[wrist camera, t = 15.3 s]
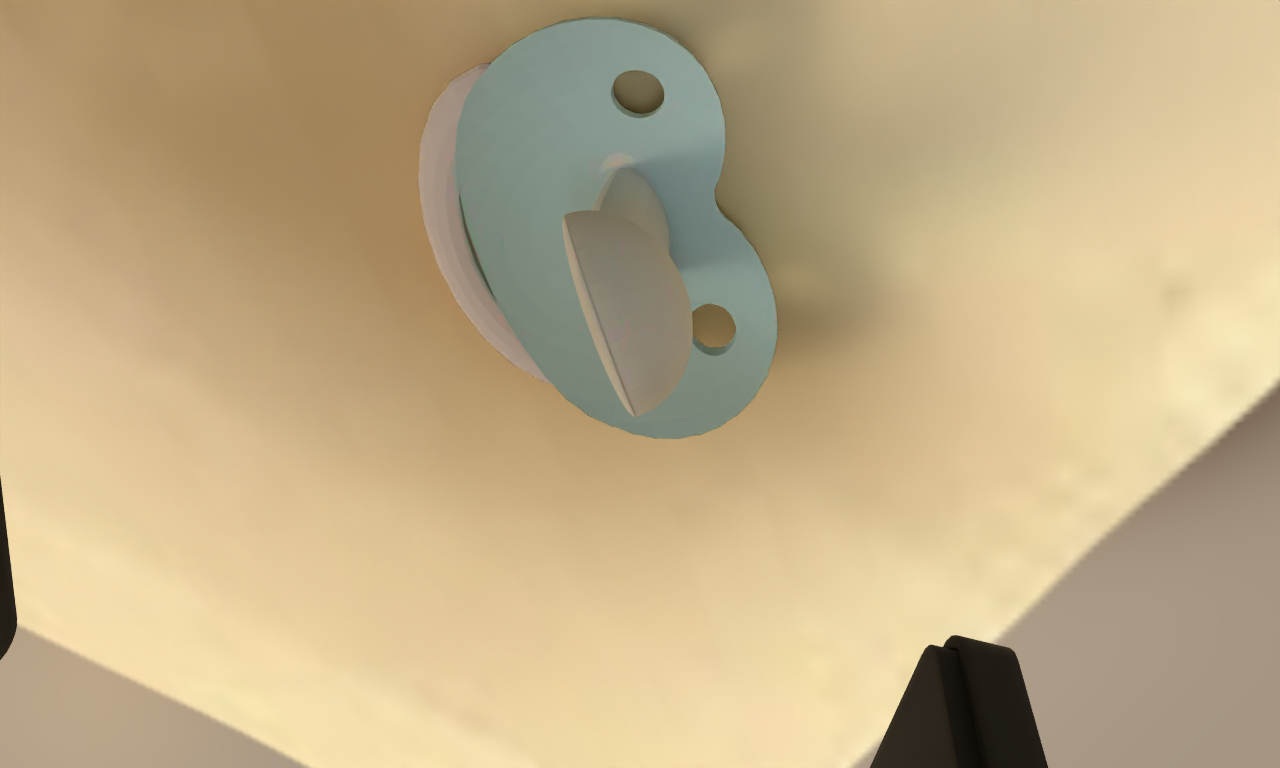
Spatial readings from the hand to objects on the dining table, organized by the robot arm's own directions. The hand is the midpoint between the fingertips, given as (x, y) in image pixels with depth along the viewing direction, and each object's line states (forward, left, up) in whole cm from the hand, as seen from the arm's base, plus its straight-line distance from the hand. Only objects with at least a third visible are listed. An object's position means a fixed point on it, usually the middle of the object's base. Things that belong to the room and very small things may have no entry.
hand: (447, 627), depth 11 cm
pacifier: (0, 0, -11) cm, 11 cm away
